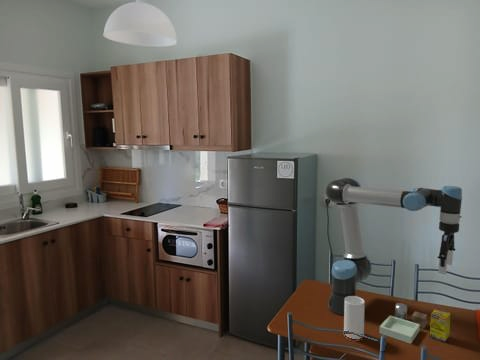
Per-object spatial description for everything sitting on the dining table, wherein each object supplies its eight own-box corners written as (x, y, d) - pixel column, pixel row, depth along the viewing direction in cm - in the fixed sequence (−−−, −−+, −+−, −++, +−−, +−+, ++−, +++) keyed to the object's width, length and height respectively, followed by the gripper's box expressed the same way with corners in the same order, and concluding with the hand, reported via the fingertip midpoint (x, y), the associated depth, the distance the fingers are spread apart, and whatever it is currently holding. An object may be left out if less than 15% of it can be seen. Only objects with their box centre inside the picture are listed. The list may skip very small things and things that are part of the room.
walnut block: (411, 325, 163) (412, 315, 162) (414, 321, 166) (415, 311, 166) (423, 329, 159) (424, 318, 159) (426, 324, 163) (427, 314, 162)
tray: (379, 333, 157) (379, 326, 156) (389, 321, 166) (389, 315, 166) (410, 343, 148) (411, 337, 148) (419, 330, 158) (419, 324, 158)
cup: (364, 341, 151) (365, 305, 149) (344, 339, 152) (345, 303, 151) (362, 331, 159) (363, 296, 157) (343, 329, 160) (343, 295, 159)
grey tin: (393, 320, 168) (393, 305, 167) (396, 315, 171) (397, 302, 171) (404, 323, 164) (405, 309, 164) (407, 319, 168) (408, 305, 167)
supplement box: (429, 337, 153) (430, 313, 151) (434, 332, 157) (435, 308, 156) (445, 343, 149) (446, 318, 147) (449, 337, 153) (450, 313, 151)
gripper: (453, 229, 143) (449, 280, 145) (464, 217, 161) (460, 262, 164) (433, 226, 147) (429, 275, 150) (445, 215, 166) (441, 259, 169)
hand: (445, 268), depth 157 cm, fingers open, 13 cm apart
